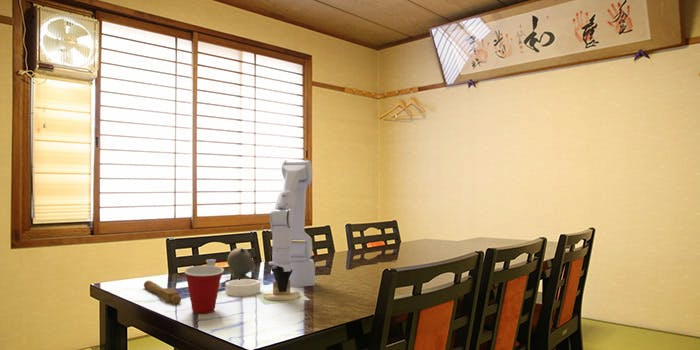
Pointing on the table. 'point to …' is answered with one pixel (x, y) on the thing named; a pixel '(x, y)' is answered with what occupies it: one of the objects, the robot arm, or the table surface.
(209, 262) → the flask
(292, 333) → the table surface
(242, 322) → the table surface
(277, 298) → the lid
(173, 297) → the tap handle
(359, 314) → the table surface
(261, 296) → the mat
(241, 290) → the bowl
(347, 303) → the table surface
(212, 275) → the plastic cup
